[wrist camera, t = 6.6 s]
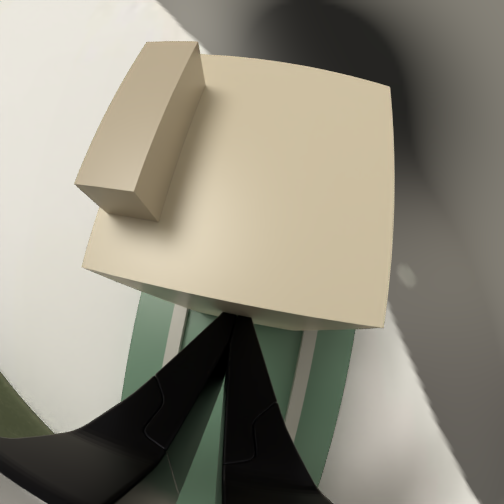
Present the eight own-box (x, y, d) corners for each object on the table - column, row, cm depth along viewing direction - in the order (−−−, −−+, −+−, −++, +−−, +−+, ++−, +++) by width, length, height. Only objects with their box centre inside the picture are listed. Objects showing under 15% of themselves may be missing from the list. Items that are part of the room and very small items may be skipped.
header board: (301, 521, 14) (317, 581, 8) (117, 482, 15) (72, 527, 9) (363, 220, 19) (406, 173, 13) (175, 186, 20) (146, 127, 13)
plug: (292, 330, 16) (420, 325, 3) (198, 312, 16) (41, 249, 4) (307, 239, 17) (408, 49, 5) (218, 223, 18) (157, 14, 5)
